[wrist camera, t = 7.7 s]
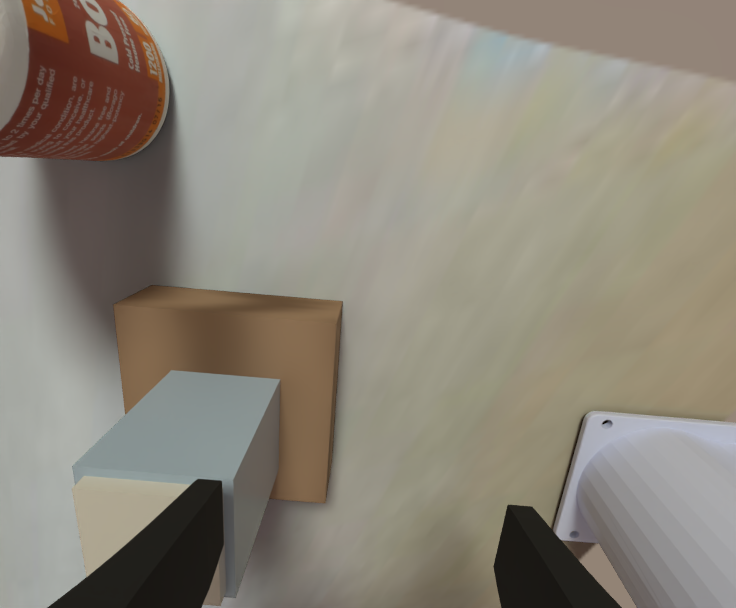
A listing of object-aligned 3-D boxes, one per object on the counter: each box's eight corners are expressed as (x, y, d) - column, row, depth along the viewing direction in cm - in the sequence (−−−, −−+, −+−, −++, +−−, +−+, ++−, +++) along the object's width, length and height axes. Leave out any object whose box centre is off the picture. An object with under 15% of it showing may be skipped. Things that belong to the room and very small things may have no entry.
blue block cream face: (280, 379, 18) (227, 492, 11) (278, 469, 19) (230, 613, 13) (171, 370, 18) (59, 478, 11) (177, 461, 19) (81, 601, 13)
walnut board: (342, 301, 20) (336, 323, 17) (332, 460, 22) (325, 503, 20) (151, 285, 20) (113, 304, 17) (164, 446, 22) (133, 487, 20)
